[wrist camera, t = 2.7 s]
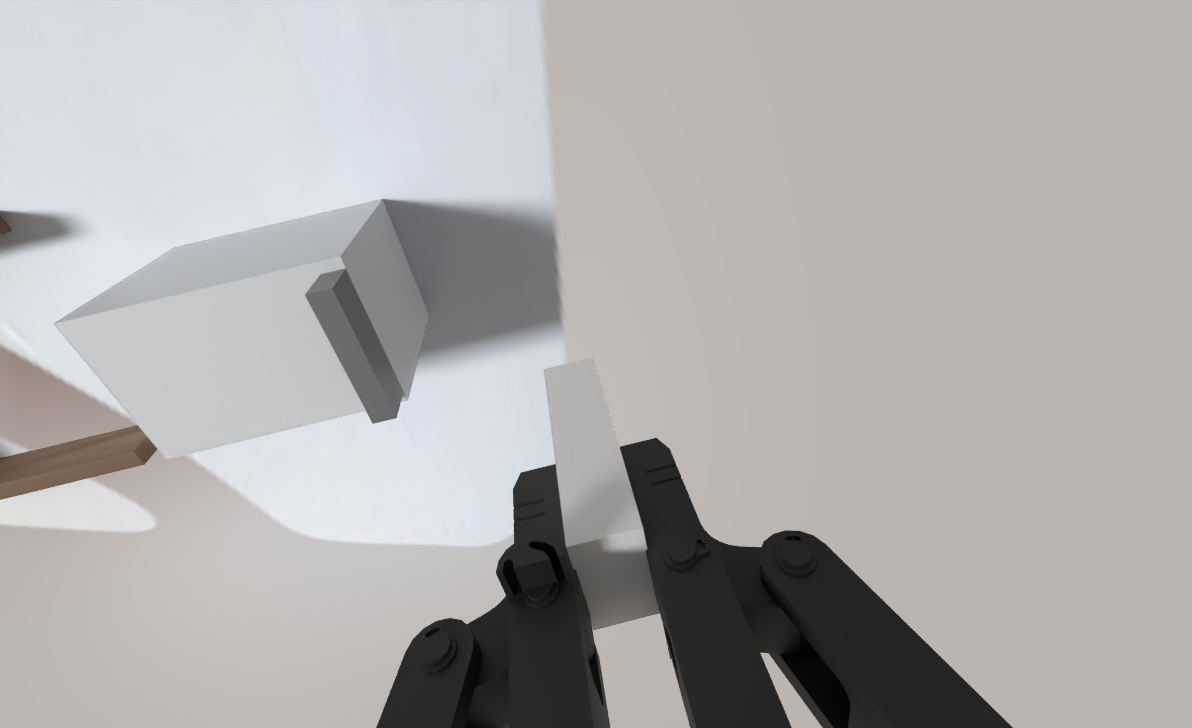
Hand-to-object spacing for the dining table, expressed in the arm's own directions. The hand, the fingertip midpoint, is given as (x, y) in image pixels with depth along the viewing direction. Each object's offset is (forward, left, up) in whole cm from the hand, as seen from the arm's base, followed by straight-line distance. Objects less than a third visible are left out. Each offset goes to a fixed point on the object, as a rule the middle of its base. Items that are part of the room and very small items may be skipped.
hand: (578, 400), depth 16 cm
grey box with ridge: (0, -13, -17) cm, 21 cm away
